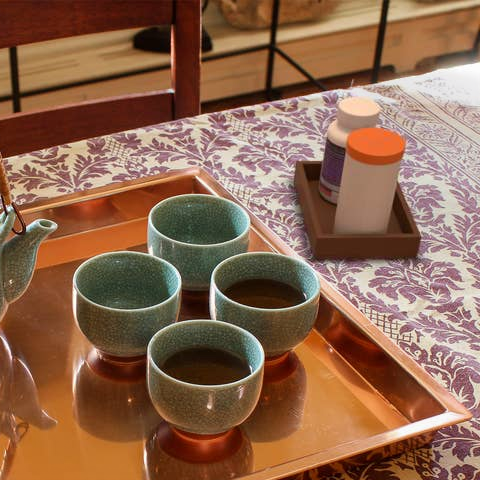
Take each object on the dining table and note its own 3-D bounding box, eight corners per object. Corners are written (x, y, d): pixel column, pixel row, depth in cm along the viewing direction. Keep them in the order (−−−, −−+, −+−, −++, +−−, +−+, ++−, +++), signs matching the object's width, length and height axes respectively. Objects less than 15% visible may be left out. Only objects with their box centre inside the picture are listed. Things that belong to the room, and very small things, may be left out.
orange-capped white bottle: (380, 219, 93) (398, 127, 86) (391, 249, 89) (412, 155, 82) (327, 219, 93) (342, 127, 86) (336, 249, 89) (352, 155, 82)
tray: (293, 181, 99) (295, 160, 98) (385, 180, 99) (389, 159, 98) (313, 259, 89) (317, 237, 87) (416, 258, 89) (421, 236, 87)
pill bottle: (371, 210, 94) (388, 121, 88) (317, 205, 95) (330, 116, 89) (371, 182, 98) (387, 95, 92) (318, 177, 99) (331, 91, 93)
